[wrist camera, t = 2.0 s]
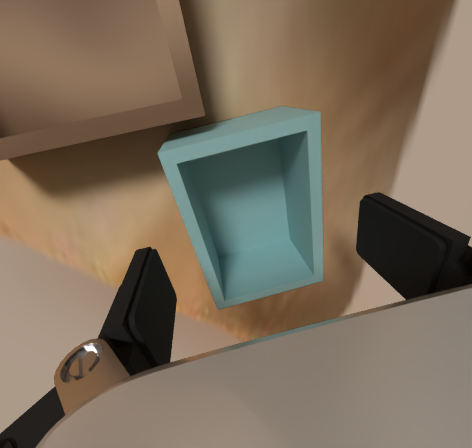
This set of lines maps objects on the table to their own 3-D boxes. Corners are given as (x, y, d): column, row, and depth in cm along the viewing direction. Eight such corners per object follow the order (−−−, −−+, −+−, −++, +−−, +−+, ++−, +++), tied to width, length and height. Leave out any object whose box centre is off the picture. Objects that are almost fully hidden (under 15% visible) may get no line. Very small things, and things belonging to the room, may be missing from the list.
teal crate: (169, 134, 14) (157, 153, 9) (282, 105, 14) (320, 111, 10) (212, 260, 19) (217, 309, 15) (294, 238, 19) (323, 280, 15)
